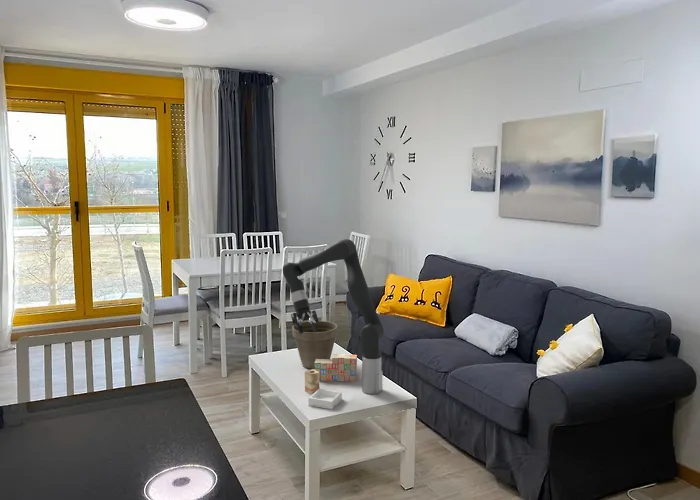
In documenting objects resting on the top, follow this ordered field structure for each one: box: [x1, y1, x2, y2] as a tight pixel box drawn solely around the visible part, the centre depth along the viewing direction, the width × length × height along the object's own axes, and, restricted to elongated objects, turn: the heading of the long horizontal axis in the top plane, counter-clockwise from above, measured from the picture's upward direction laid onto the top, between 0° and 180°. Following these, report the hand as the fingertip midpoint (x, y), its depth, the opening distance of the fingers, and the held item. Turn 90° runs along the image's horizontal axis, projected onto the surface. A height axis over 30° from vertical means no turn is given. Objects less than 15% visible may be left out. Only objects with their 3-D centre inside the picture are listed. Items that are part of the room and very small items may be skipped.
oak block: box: [304, 369, 321, 395], centre depth 266 cm, size 5×5×10 cm
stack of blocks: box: [314, 353, 358, 382], centre depth 282 cm, size 21×6×12 cm, turn 85°
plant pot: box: [291, 320, 339, 370], centre depth 302 cm, size 25×25×22 cm
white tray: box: [307, 388, 343, 410], centre depth 254 cm, size 12×12×4 cm
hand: (308, 332), depth 270 cm, fingers open, 8 cm apart
